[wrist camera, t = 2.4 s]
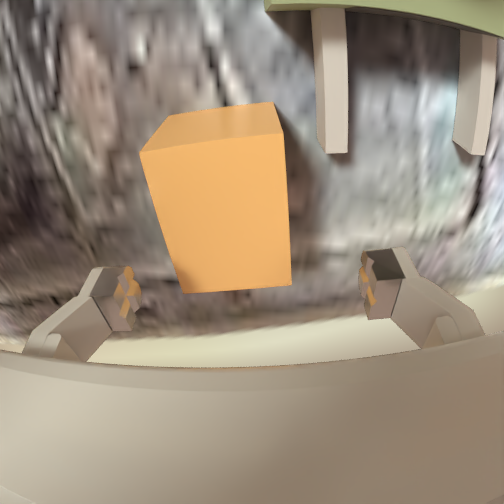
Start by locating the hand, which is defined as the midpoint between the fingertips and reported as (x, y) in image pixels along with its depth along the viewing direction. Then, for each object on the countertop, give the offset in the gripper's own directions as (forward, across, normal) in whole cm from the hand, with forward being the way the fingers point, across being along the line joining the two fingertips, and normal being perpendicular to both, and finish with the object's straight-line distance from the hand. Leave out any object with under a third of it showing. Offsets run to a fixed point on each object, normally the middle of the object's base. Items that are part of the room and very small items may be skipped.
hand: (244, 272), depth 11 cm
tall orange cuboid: (+7, +1, -1) cm, 7 cm away
